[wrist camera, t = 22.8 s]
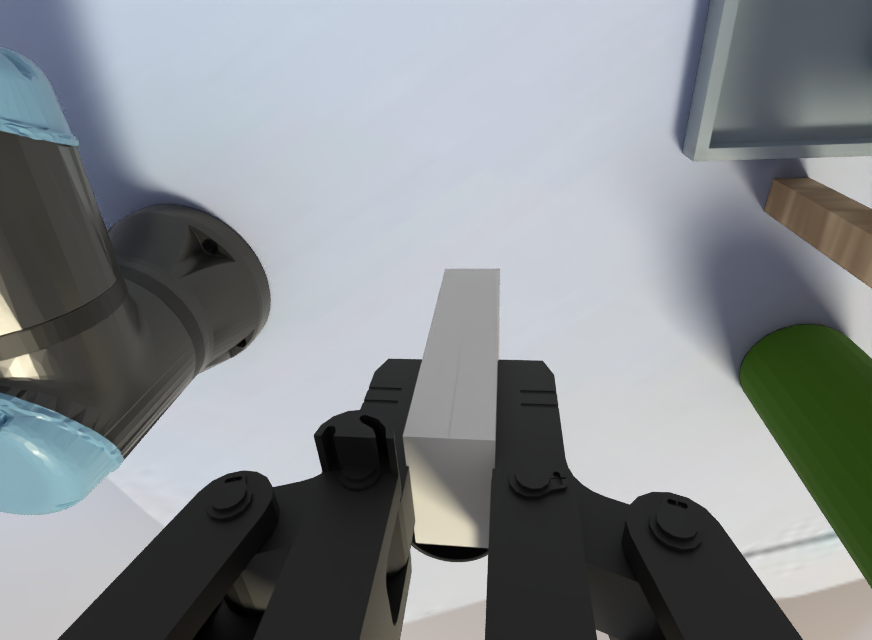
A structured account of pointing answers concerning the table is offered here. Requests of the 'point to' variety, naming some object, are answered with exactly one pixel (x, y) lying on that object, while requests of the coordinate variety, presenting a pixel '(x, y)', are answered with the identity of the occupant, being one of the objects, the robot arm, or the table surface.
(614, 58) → the table surface
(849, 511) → the wine bottle
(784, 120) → the tray
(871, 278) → the small wooden table
